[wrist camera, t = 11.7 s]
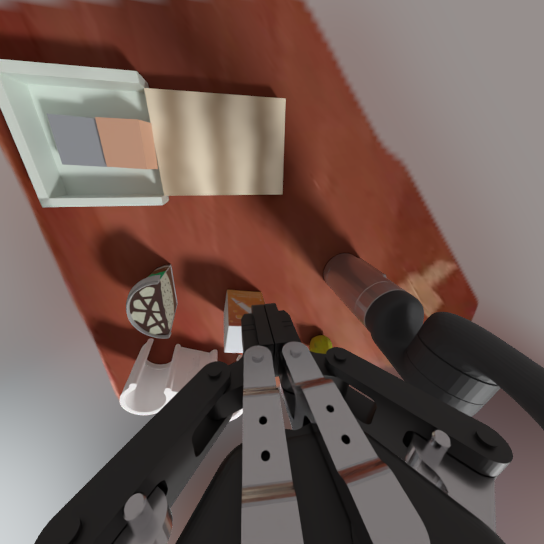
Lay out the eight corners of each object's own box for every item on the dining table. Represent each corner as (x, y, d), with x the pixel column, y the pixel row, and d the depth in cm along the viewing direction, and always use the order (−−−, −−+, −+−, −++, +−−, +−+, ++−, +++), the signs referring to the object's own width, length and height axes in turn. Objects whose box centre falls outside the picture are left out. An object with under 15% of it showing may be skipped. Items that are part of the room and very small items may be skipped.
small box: (261, 291, 52) (273, 327, 40) (256, 313, 54) (266, 353, 43) (226, 288, 49) (227, 325, 38) (223, 312, 52) (223, 354, 40)
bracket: (135, 364, 53) (113, 415, 43) (146, 334, 50) (126, 379, 40) (232, 380, 62) (235, 425, 52) (246, 355, 59) (252, 397, 49)
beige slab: (280, 103, 37) (285, 98, 34) (278, 192, 43) (282, 194, 40) (150, 94, 33) (144, 87, 30) (167, 193, 39) (164, 195, 36)
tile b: (108, 122, 33) (98, 118, 30) (118, 166, 35) (109, 167, 33) (61, 117, 32) (46, 113, 29) (74, 164, 34) (62, 164, 32)
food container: (135, 258, 43) (113, 282, 34) (169, 257, 44) (157, 280, 35) (148, 311, 48) (131, 344, 39) (178, 309, 49) (169, 340, 40)
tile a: (151, 123, 32) (138, 119, 29) (158, 169, 35) (147, 169, 32) (111, 120, 32) (94, 117, 30) (121, 166, 35) (106, 166, 32)
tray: (148, 83, 32) (136, 71, 28) (169, 200, 40) (162, 205, 35) (15, 73, 29) (-21, 57, 25) (63, 202, 36) (42, 207, 32)
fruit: (316, 351, 64) (335, 388, 54) (301, 343, 62) (318, 380, 51) (331, 335, 63) (354, 370, 52) (316, 327, 60) (336, 362, 49)
